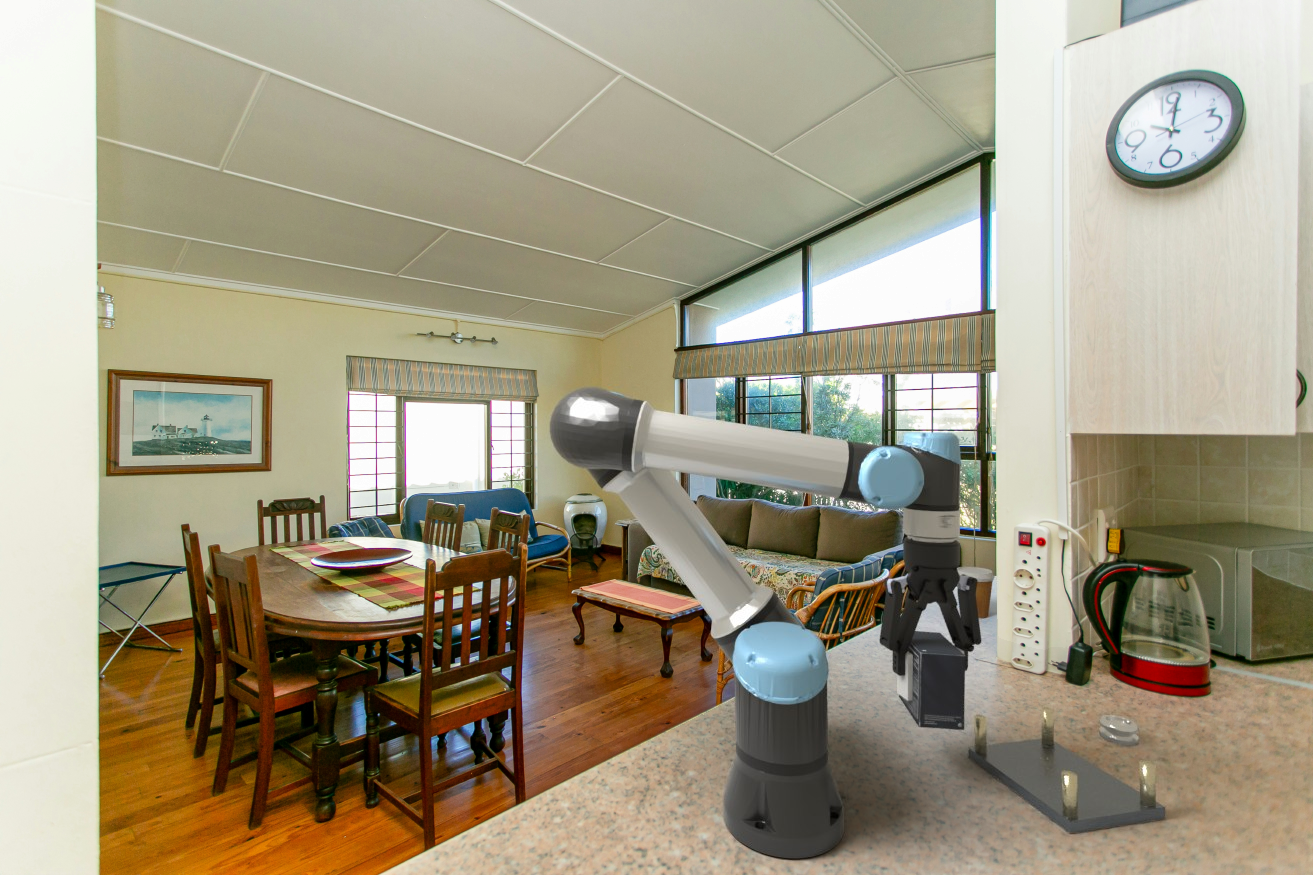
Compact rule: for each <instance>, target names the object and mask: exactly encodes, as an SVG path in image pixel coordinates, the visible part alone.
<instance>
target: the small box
mask: <svg viewBox="0 0 1313 875" xmlns="http://www.w3.org/2000/svg"><path fill="white" fill-rule="evenodd" d="M908 652H909V653H911V654H912V655H913V700H911V701H907V700H906V699H905V698H903V697H902V696H901V695H899V694H898V698H899V700H900V701H901V702H902V704H903V705H904V707H905V709H907V712H908V713H909V715H910V717H911V718H912V719H913V721H914V722H915V724H916V725H917V727H919V728H928V729H929V728H931V729H941V730H942V729H945V730H958V731H964V730H965V691H966V690H965V689H966V686H965V685H966V684H965V683H966V671H965V655H964V654H963V653H962V652H961V651H960V650H958V649H957V648H956V647H955V646H954V644H953V642H952V641H949V639H947V638H946V637H945V636H944V635H943V634H942V633H941V632H935V631H934V632H933V631H922V630H921V631H920V630H915V633H914V635H913V638H912V641H911V643H910V646H909V649H908Z"/></svg>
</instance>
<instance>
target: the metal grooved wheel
mask: <svg viewBox="0 0 1313 875" xmlns="http://www.w3.org/2000/svg"><path fill="white" fill-rule="evenodd" d="M1098 724H1099V725H1100V727H1099V729H1098V732H1099V737H1100V738H1101V739H1102V740H1105V741H1106V742H1109V743H1111V744H1114V745H1117V746H1122V747H1131V748H1133V747H1136V746H1138V745H1140V744H1139V743H1140V737H1139V735H1137V734H1138V733H1139V732H1140V731H1139V725H1138V724H1137V723H1136V722H1134V721H1133V720H1131V719H1129V718H1127V717H1125V716H1121V715H1116V714H1115V715H1114V714H1105V715H1102V716H1100V717H1099V719H1098Z"/></svg>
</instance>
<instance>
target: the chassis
mask: <svg viewBox="0 0 1313 875" xmlns="http://www.w3.org/2000/svg"><path fill="white" fill-rule="evenodd" d="M1040 716H1041V717H1040V723H1041V724H1040V725H1041V729H1040V732H1041V738H1033V739H1032V738H1031V739H1025V740H1017V741H1009V742H1001V743H994V744H993V743H992V744H988V741H987V740H988V738H987V737H988V735H987V732H988V731H987V717H986V716H985V715H982V714H975V715H974V716H973V720H974V722H973V726H974V727H973V728H974V729H973V732H974V733H973V734H974V736H973V738H974V746H968V748H967V758H969V759H970V760H971V761H972V762H974V763H975V764H977V765H978V766H979V767H980V768H982V769H983V770H984V771H986V772H987V773H989V774H990V775H991V776H993V777H994V778H995V779H996V780H998V781H999V782H1001V783H1002V784H1003V785H1005V787H1007V788H1008V789H1010V790H1011V791H1012V792H1014V793H1016V795H1018V796H1019V797H1020V798H1021V799H1024V800H1025V802H1027V803H1029V804H1030V806H1033V807H1034V808H1035V809H1036V810H1038V811H1039V812H1040V813H1042V814H1043V815H1044V816H1045V817H1046V818H1048V819H1050V820H1051V821H1052V822H1054V824H1057V825H1058V826H1059V827H1061V829H1063V830H1064V831H1065V832H1067V833H1069V834H1070V835H1072V834H1079V833H1084V832H1091V831H1092V832H1093V831H1096V830H1104V829H1110V828H1117V827H1122V826H1123V827H1124V826H1128V825H1134V824H1136V825H1137V824H1140V823H1148V822H1153V821H1160V820H1166V806H1164V805H1162V804H1161V803H1160V802H1157V784H1156V783H1157V781H1156V780H1157V779H1156V777H1157V775H1156V773H1157V772H1156V771H1157V770H1156V769H1157V768H1156V767H1157V766H1156V764H1155V763H1154V762H1152V761H1150V760H1146V759H1140V760H1139V762H1138V765H1139V769H1138V771H1139V790H1137V789H1135V787H1133V786H1130V785H1129V784H1128V783H1126V782H1125V781H1123V780H1121V779H1119V778H1117V777H1116V776H1114V775H1112V774H1111V773H1109V772H1108V771H1105V770H1104V769H1102V768H1100V767H1099V766H1097V765H1096V764H1094V763H1092V762H1091V761H1089V760H1088V759H1085V758H1083V757H1082V756H1080V755H1078V754H1077V753H1075V752H1073V751H1072V750H1070V749H1069V748H1067V747H1065V746H1063V745H1061V744H1060V743H1058V742H1057V741H1055V728H1054V726H1055V724H1054V720H1055V719H1054V716H1055V714H1054V708H1053V709H1052V708H1050V707H1045V706H1042V707H1040Z"/></svg>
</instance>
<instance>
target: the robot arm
mask: <svg viewBox="0 0 1313 875" xmlns="http://www.w3.org/2000/svg"><path fill="white" fill-rule="evenodd" d="M550 416H551V417H550V420H549V435H550V440H551V442H552V444H553V447H554V449H555V451H556V453H558V455H559V456H561V458H562V459H563V460H565V461H566V462H567V463H569V464H571V465H573V466H575V467H578V468H581V469H585V470H587V471H588V473H589V474H590V475H591V477H592V478H593V480H595V482H596V483H597V485H598V486H599V487H600V489H601V490H602V492H608V493H614V494H617V495H618V496H619V498H620V499H621V501H623V503H624V504H625V505H626V507H627V508H628V510H629V511H630V512H631V514H632V515H633V516H634V518H635V519H636V520H637V522H638V523H639V524H640V526H641V527H642V528H643V530H644V531H645V532H646V533H647V535H648V536H649V537H650V539H651V540H652V542H653V543H654V545H655V546H656V547H657V548H658V550H659V552H661V553H662V555H663V556H664V557H665V559H666V560H667V561H668V563H669V564H670V566H671V567H672V568H673V570H674V571H675V573H676V574H677V575H678V577H680V579H681V581H682V582H683V583H684V585H686V587H687V589H689V591H690V593H691V594H692V595H693V596H694V597H695V599H696V600H697V602H698V603H699V604H700V605H701V607H702V608H703V609H704V611H705V612H706V614H707V615H708V616H709V618H710V619H711V627H710V628H711V630H710V635H711V637H712V639H714V641H715V643H716V644H717V645H718V647H719V648H720V649H721V651H723V653H724V655H725V656H726V657H727V659H728V660H729V662H730V663H731V665H732V666H733V678H734V716H735V718H734V719H735V720H734V723H735V724H734V725H735V726H734V727H735V756H734V759H733V762H732V766H731V769H730V772H729V775H728V778H727V782H726V784H725V788H724V792H723V796H722V807H723V808H722V810H723V811H722V817H724V818H723V822H724V824H725V826H726V828H727V830H728V831H729V833H730V834H731V835H732V836H733V837H734V838H735V839H736V840H738V842H740V843H741V844H743V845H744V846H746V847H748V848H749V849H752V850H754V851H757V852H758V853H761V854H765V855H767V856H772V857H775V858H776V857H777V858H782V859H784V858H785V859H805V858H812V857H817V856H819V855H822V854H824V853H826V852H829V851H831V849H833V848H834V847H836V846H837V845H838V844H839V842H840V841H841V840H842V838H843V835H844V832H845V814H844V813H845V811H844V805H843V801H842V798H841V795H840V792H839V790H838V787H837V784H836V781H835V778H834V774H833V771H832V768H831V766H830V762H829V760H830V759H829V719H828V718H829V714H828V713H829V712H828V678H829V671H830V669H829V660H828V658H827V649H826V647H825V645H824V644H825V643H824V642H823V640H822V639H821V638H820V637H819V636H818V635H817V634H816V633H814V632H813V631H812V630H810V629H806V627H805V625H804V624H803V622H802V621H801V619H800V618H799V617H798V616H797V615H796V614H795V613H793V611H792V610H790V609H788V608H787V607H786V605H785V603H783V601H782V600H781V599H780V597H779V596H778V595H777V593H776V592H775V591H774V589H772V587H770V586H764V585H759V584H756V582H755V581H754V579H753V578H752V577H751V576H750V574H749V573H748V572H747V571H746V569H745V568H744V567H743V565H742V564H741V562H740V560H738V558H737V557H736V556H735V554H734V553H733V552H732V551H731V549H730V548H729V547H728V546H727V544H726V542H725V541H724V540H723V539H722V537H721V536H720V535H719V533H718V532H717V530H715V528H714V527H713V526H712V524H711V523H710V522H709V520H708V519H707V518H706V516H705V515H704V514H703V513H702V511H701V510H700V509H699V507H698V506H697V505H696V504H695V502H694V500H693V499H692V498H691V497H690V495H689V494H688V493H687V491H686V490H685V488H683V486H682V485H681V483H680V482H679V481H678V480H677V478H676V477H675V476H674V474H673V473H672V471H673V472H678V473H684V474H689V475H695V476H702V477H706V478H712V479H719V480H726V481H732V482H738V483H743V484H747V485H748V484H750V485H755V486H762V487H767V488H774V489H780V490H785V491H791V492H798V493H803V494H809V495H815V496H816V495H817V496H822V497H827V498H833V499H838V500H844V501H847V502H848V501H849V502H854V503H855V502H856V503H861V504H866V505H872V506H873V507H874V508H877V509H881V510H882V509H883V510H899V509H903V516H902V520H903V521H902V522H903V523H902V532H903V533H904V535H905V536H906V537H904V539H903V542H902V544H903V546H902V547H903V548H902V553H903V555H902V558H903V559H902V560H903V563H904V571H903V572H902V574H901V576H899V577H895V578H890V577H885V578H884V580H883V583H884V584H883V585H884V589H885V598H884V599H885V600H884V607H883V613H882V614H883V615H882V622H881V627H880V628H881V629H880V635H879V644H880V645H882V646H883V647H885V648H887V650H889V651H892V652H891V653H892V668H891V669H892V671H893V673H894V674H896V694H898V696H899V695H901V696H902V697H903V698H905V699H906V700H907V701H911V700H913V655H912V654H911V653H909V652H908V649H909V646H910V643H911V641H912V638H913V635H914V633H915V631H917V630H916V629H917V627H918V624H919V622H920V618H921V617H922V613H923V611H925V610H926V609H927V606H928V604H933V603H936V604H937V605H938V606H939V609H940V612H941V615H942V617H943V620H944V623H945V625H946V629H947V631H948V634H949V637H950V639H951V643H952V644H953V645H954V646H955V647H956V648H957V649H958V650H960V651H961V652H962V653H963V654H964V655H965V672H966V671H968V669H969V653H972V652H973V651H974V650H975V646H974V645H976V646H979V645H981V643H982V634H981V627H980V618H979V617H978V609H977V601H976V589H977V584H978V581H977V579H976V578H974V577H971V576H968V575H964V574H962V575H959V573H958V570H957V568H959V566H960V564H961V543H960V542H959V541H958V540H956V539H958V538H959V537H960V536H961V533H960V532H961V531H960V530H961V528H960V527H961V525H960V524H961V510H960V508H961V504H960V503H961V502H960V501H961V500H960V499H961V498H960V497H961V469H962V468H961V467H962V460H961V458H962V457H961V447H960V439H959V437H958V436H957V435H956V433H953V432H946V431H945V432H941V431H940V432H923V431H920V432H919V431H918V432H913V431H911V432H907V433H905V434H904V436H903V441H902V444H898V445H878V444H871V443H864V442H857V441H848V440H845V439H840V438H834V437H833V438H831V437H826V436H820V435H815V434H814V435H813V434H807V433H803V432H795V431H788V430H782V429H777V428H776V429H775V428H770V427H764V426H756V425H750V424H744V423H738V422H733V421H726V420H720V419H714V418H707V417H701V416H693V415H688V414H681V413H675V412H668V411H663V410H657V409H654V408H653V406H652V405H651V404H650V403H649V401H647V400H642V399H641V400H640V399H636V398H631V397H627V396H625V395H623V394H621V393H619V392H615V391H610V390H607V389H605V388H601V387H597V386H596V387H595V386H586V387H580V388H576V389H574V390H572V391H570V392H569V393H567V394H566V395H563V397H562V398H561V399H559V401H558V402H557V404H556V405H555V406H554V408H553V411H552V413H551V415H550ZM905 587H906V589H907V592H906V589H905ZM956 587H957V590H956V591H957V599H956V596H955V593H954V590H955V589H956ZM905 592H906V595H905V598H904V593H905ZM957 600H958V602H957ZM903 602H904V603H905V604H904V607H903ZM957 606H958V607H957ZM958 608H959V610H958Z"/></svg>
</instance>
